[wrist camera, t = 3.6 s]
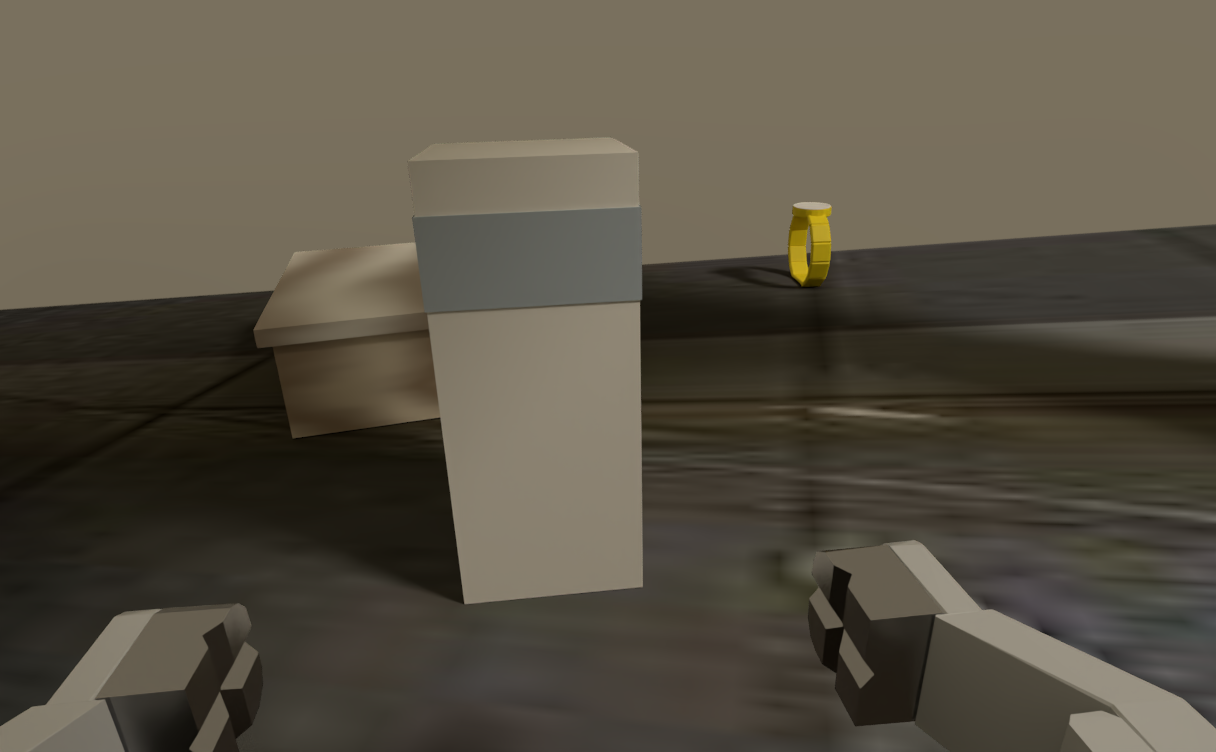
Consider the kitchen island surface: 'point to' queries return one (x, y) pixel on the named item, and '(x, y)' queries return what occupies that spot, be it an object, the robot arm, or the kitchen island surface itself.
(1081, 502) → the kitchen island surface
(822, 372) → the kitchen island surface
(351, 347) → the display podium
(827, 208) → the watch
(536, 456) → the carton
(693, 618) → the kitchen island surface
